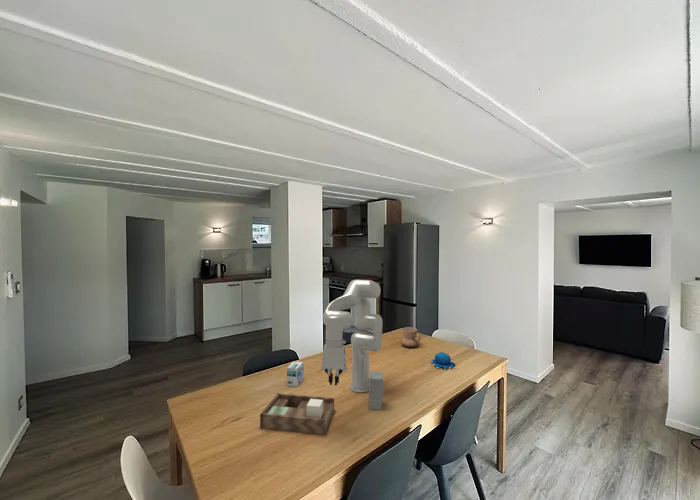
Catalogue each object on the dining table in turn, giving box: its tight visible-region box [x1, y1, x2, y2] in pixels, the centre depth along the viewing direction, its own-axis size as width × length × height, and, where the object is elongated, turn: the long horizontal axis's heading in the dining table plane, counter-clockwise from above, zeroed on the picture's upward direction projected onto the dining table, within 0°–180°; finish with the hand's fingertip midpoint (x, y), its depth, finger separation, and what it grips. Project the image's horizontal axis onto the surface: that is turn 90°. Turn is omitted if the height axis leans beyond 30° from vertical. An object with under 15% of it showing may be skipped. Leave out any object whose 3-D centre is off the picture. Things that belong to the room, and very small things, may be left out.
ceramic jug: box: [400, 326, 421, 348], centre depth 242 cm, size 18×14×14 cm
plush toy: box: [429, 352, 456, 369], centre depth 202 cm, size 17×17×8 cm
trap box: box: [259, 392, 335, 436], centre depth 136 cm, size 29×19×6 cm, turn 81°
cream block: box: [307, 399, 323, 419], centre depth 131 cm, size 6×6×6 cm
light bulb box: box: [286, 360, 305, 388], centre depth 173 cm, size 11×7×11 cm, turn 168°
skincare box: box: [368, 371, 384, 411], centre depth 148 cm, size 8×7×16 cm
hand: (333, 383), depth 130 cm, fingers closed
